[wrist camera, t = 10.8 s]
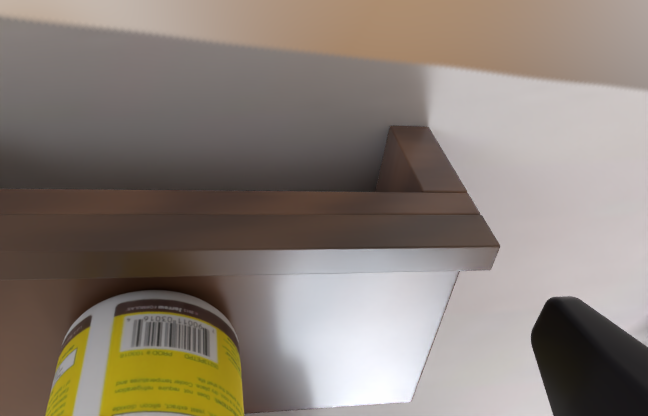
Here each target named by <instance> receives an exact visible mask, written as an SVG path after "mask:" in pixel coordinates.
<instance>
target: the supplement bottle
mask: <svg viewBox="0 0 648 416" xmlns="http://www.w3.org/2000/svg"><path fill="white" fill-rule="evenodd" d="M45 416H244V406H243V391H242V377H241V361H240V349H239V343H238V338H237V335H236V333H235V330H234V328H233V327H232V325H231V323H230V322H229V320H228V319H227V318H226V317H225V316H224V315H223V314H222V313H221V312H220V311H219V310H218V309H216V308H215V307H213V306H212V305H210V304H209V303H207V302H205V301H203V300H201V299H199V298H196V297H193V296H190V295H187V294H183V293H179V292H173V291H164V290H144V291H135V292H129V293H125V294H121V295H117V296H114V297H111V298H108V299H106V300H104V301H102V302H100V303H98V304H96V305H94V306H93V307H91V308H90V309H88V310H87V311H86V312H84V313H83V314H82V315H81V316H80V317H79V318H78V319H77V320H76V321H75V322H74V323H73V324H72V326H71V327H70V329H69V331H68V332H67V334H66V336H65V338H64V341H63V344H62V347H61V351H60V355H59V359H58V363H57V367H56V371H55V376H54V380H53V384H52V388H51V393H50V398H49V402H48V406H47V410H46V415H45Z"/></svg>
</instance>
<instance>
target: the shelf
mask: <svg viewBox="0 0 648 416" xmlns="http://www.w3.org/2000/svg"><path fill="white" fill-rule="evenodd" d="M499 248H500V245H499V243H498V241H497V240H496V238H495V236H494V235H493V233H492V231H491V230H490V228H489V226H488V225H487V223H486V221H485V220H484V218H483V216H482V215H480V212H479V211H478V209H477V207H476V206H475V204H474V202H473V201H472V199H471V197H470V196H469V194H468V193H467V190H466V189H465V187H464V185H463V184H462V182H461V180H460V179H459V177H458V175H457V174H456V172H455V170H454V169H453V167H452V165H451V164H450V162H449V160H448V159H447V157H446V155H445V154H444V152H443V150H442V149H441V147H440V145H439V144H438V142H437V140H436V139H435V137H434V135H433V134H432V132H431V130H430V129H429V127H417V126H390V128H389V132H388V137H387V141H386V146H385V150H384V155H383V159H382V164H381V168H380V173H379V177H378V181H377V186H376V190H375V192H317V191H209V190H102V189H0V416H45V415H46V410H47V406H48V402H49V398H50V393H51V388H52V384H53V380H54V376H55V371H56V367H57V363H58V359H59V355H60V351H61V347H62V344H63V341H64V338H65V336H66V334H67V332H68V331H69V329H70V327H71V326H72V324H73V323H74V322H75V321H76V320H77V319H78V318H79V317H80V316H81V315H82V314H83V313H84V312H86V311H87V310H88V309H90V308H91V307H93V306H94V305H96V304H98V303H100V302H102V301H104V300H106V299H108V298H111V297H114V296H117V295H121V294H125V293H129V292H135V291H144V290H164V291H173V292H179V293H183V294H187V295H190V296H193V297H196V298H199V299H201V300H203V301H205V302H207V303H209V304H210V305H212V306H213V307H215V308H216V309H218V310H219V311H220V312H221V313H222V314H223V315H224V316H225V317H226V318H227V319H228V320H229V322H230V323H231V325H232V327H233V328H234V330H235V333H236V335H237V338H238V343H239V349H240V361H241V377H242V391H243V406H244V414H246V413H260V412H274V411H289V410H303V409H318V408H332V407H346V406H361V405H375V404H390V403H404V402H411V401H412V399H413V396H414V393H415V391H416V388H417V385H418V383H419V380H420V377H421V374H422V372H423V369H424V366H425V364H426V361H427V358H428V356H429V353H430V350H431V347H432V345H433V342H434V339H435V337H436V334H437V331H438V329H439V326H440V323H441V320H442V318H443V315H444V312H445V310H446V307H447V304H448V301H449V299H450V296H451V293H452V291H453V288H454V285H455V283H456V280H457V277H458V274H459V272H460V271H476V270H491V268H492V265H493V263H494V260H495V258H496V256H497V253H498V251H499Z"/></svg>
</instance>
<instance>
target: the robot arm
mask: <svg viewBox="0 0 648 416" xmlns="http://www.w3.org/2000/svg"><path fill="white" fill-rule="evenodd" d="M531 344H532V348H533V351H534V354H535V358H536V361H537V364H538V367H539V370H540V374H541V377H542V380H543V383H544V387H545V390H546V393H547V396H548V399H549V403H550V406H551V409H552V412H553V415H554V416H648V347H646V346H645V345H644V344H642V343H641V342H639V341H638V340H637V339H635V338H634V337H632V336H631V335H629V334H628V333H627V332H625V331H624V330H622V329H621V328H620V327H618V326H617V325H615V324H614V323H612V322H611V321H610V320H608V319H607V318H605V317H604V316H603V315H601V314H600V313H598V312H597V311H595V310H594V309H593V308H591V307H590V306H588V305H587V304H586V303H584V302H583V301H581V300H580V299H578V298H576V297H571V296H568V297H552V298H550V299H549V300H547V302H546V303H545V305H544V307H543V309H542V311H541V313H540V315H539V317H538V319H537V321H536V323H535V325H534V327H533V329H532V333H531Z"/></svg>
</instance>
